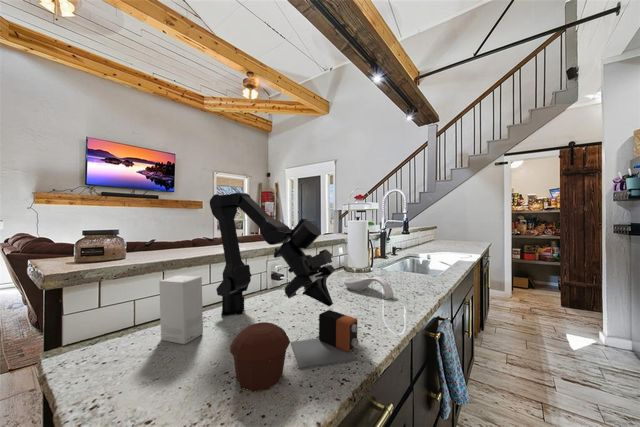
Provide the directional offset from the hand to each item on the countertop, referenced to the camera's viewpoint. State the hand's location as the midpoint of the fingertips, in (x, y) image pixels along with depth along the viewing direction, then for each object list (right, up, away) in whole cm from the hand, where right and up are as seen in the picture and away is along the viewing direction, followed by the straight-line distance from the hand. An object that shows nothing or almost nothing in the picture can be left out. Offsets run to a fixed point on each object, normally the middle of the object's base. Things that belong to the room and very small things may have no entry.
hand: (331, 305), depth 67 cm
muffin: (-15, -9, -16) cm, 24 cm away
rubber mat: (-3, -8, -7) cm, 11 cm away
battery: (-2, -5, -1) cm, 5 cm away
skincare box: (-39, -8, 0) cm, 40 cm away
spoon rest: (+17, -9, +41) cm, 45 cm away
